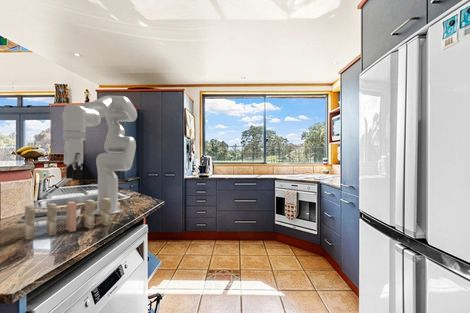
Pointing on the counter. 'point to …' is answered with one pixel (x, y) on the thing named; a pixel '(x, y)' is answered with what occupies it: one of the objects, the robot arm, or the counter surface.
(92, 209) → the birch domino
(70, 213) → the terracotta domino
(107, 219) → the birch domino
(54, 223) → the birch domino
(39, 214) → the picture frame
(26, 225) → the birch domino
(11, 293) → the counter surface
